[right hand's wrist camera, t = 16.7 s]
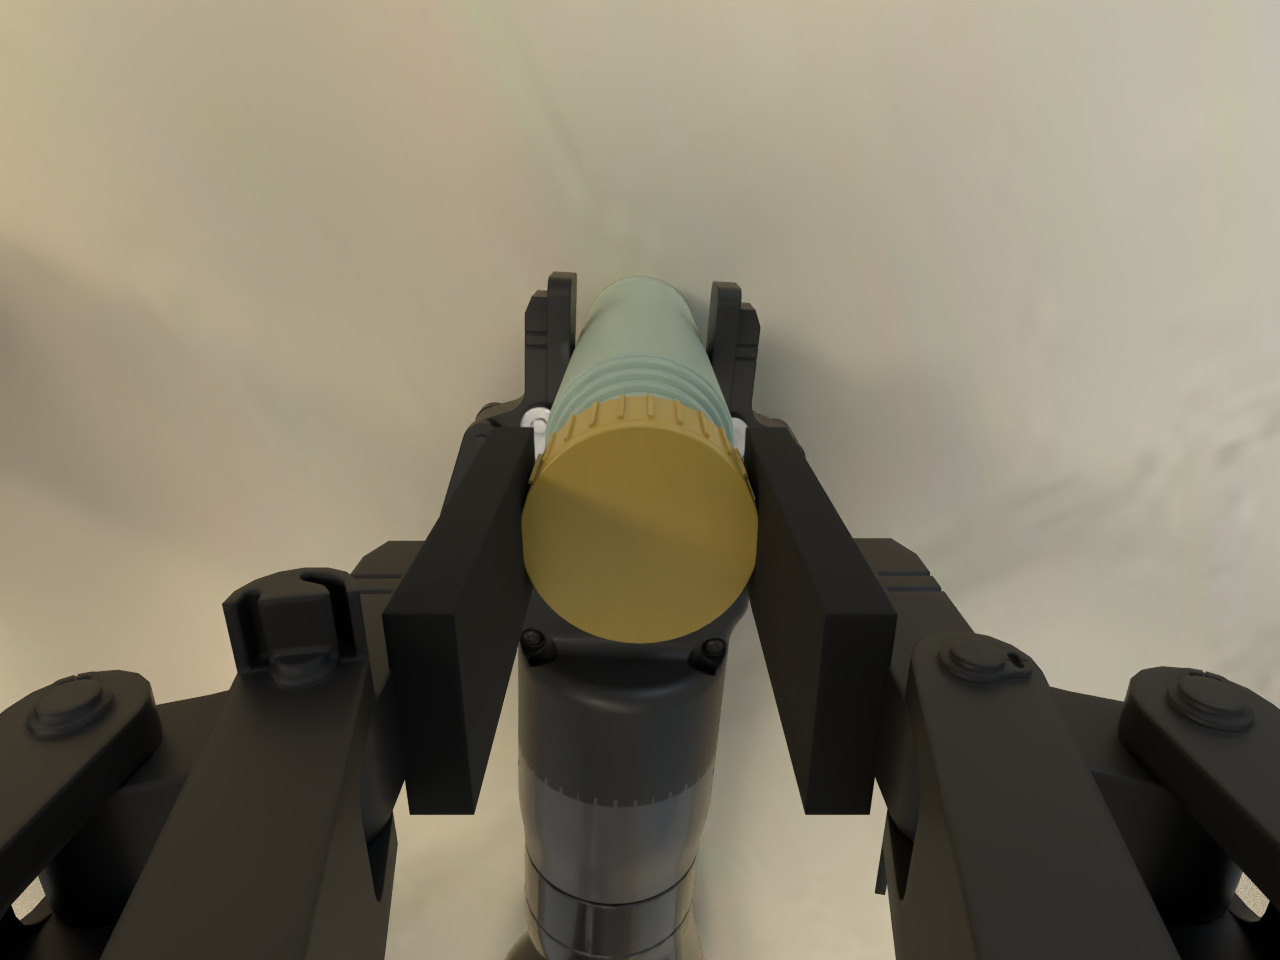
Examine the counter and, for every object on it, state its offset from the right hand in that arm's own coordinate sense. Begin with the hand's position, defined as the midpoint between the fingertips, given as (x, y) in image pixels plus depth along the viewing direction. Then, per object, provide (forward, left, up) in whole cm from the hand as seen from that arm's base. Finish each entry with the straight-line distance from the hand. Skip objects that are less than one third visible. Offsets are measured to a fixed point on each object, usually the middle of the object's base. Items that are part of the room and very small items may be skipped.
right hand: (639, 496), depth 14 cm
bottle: (0, 0, -17) cm, 17 cm away
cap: (0, 0, +2) cm, 2 cm away
